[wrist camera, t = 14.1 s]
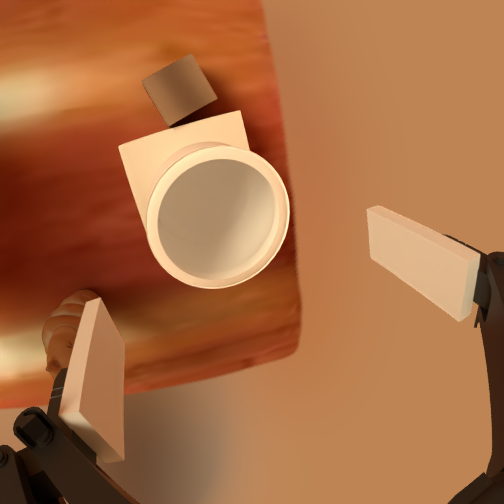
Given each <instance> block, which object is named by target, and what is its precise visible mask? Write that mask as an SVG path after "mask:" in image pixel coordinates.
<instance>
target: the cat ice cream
mask: <svg viewBox="0 0 504 504" xmlns="http://www.w3.org/2000/svg"><path fill="white" fill-rule="evenodd" d="M97 298H100V297H99V296H98V295H97V294H96V293H95V292H93V291H91V290H87V289H83V290H79V291H77V292H75V293H74V294H72V295H70V296H69V297H67V298H65V299H64V300H63V301H62V302H61V304H60V306H59V307H57V308H56V309H55V310H53V311H52V313H51V315H50V318H49V319H48V320H47V321H46V323H45V326H44V328H43V331H42V340H43V344H44V347H45V351H46V354H47V367H46V371H48V372H49V373H50V375H51V376H52V378H53V379H54V381H55V378H56V377H57V375H58V373H59V372H60V370H61V369H63V368H67V367H69V363H70V359H71V355H72V351H73V347H74V343H75V339H76V335H77V332H78V328H79V325H80V321H81V318H82V314H83V311H84V308H85V304H86V302H88V301H91V300H94V299H97Z"/></svg>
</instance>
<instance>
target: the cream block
mask: <svg viewBox="0 0 504 504" xmlns="http://www.w3.org/2000/svg"><path fill="white" fill-rule="evenodd" d="M199 142H220V143H225V144H228V145H231V146H236V147H240V148H244V149H246V150H249V151H250V149H249V145H248V141H247V136H246V132H245V128H244V124H243V120H242V115H241V111H240V110H239V111H234V112H229V113H225V114H221V115H217V116H213V117H209V118H205V119H202V120H198V121H194V122H191V123H187V124H184V125H180V126H177V127H174V128H170V129H167V130H164V131H161V132H157V133H154V134H151V135H148V136H145V137H142V138H139V139H136V140H133V141H130V142H127V143H125V144H122V145H120V146H118V148H119V151H120V154H121V158H122V161H123V164H124V167H125V171H126V174H127V177H128V180H129V183H130V186H131V189H132V192H133V195H134V198H135V201H136V204H137V207H138V210H139V213H140V216H141V219H142V222H143V225H144V227H145V230H146V226H145V216H146V208H147V201H148V194H149V189H150V186H151V183H152V180H153V178H154V176H155V174H156V172H157V170H158V169H159V168H160V166H161V165H162V164H163V162H164V161H165V160H166V159H167V158H168V157H170V156H171V155H172V154H173V153H175V152H176V151H178V150H179V149H181V148H183V147H185V146H188V145H191V144H194V143H199Z"/></svg>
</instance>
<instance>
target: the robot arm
mask: <svg viewBox="0 0 504 504" xmlns="http://www.w3.org/2000/svg"><path fill="white" fill-rule="evenodd" d="M367 219H368V231H369V247H370V258H371V259H373V260H374V261H376V262H377V263H378V264H380V265H381V266H383V267H384V268H386V269H387V270H389V271H390V272H391V273H393V274H394V275H396V276H397V277H399V278H400V279H401V280H403V281H404V282H406V283H407V284H408V285H410V286H411V287H413V288H414V289H415V290H417V291H418V292H419V293H421V294H423V295H424V296H425V297H427V298H428V299H429V300H430V301H432V302H433V303H435V304H436V305H437V306H438V307H440V308H441V309H443V310H444V311H445V312H447V313H448V314H449V315H451V316H452V317H453V318H454V319H456V320H457V321H458V322H460V321H461V320H463V319H464V318H466V317H467V316H468V315H470V314H471V309H472V305H473V301H474V302H475V303H477V304H478V305H479V306H478V311H477V316H476V320H475V325H474V327H475V328H476V327H477V324H478V322H480V328H481V333H482V339H483V345H484V350H485V358H486V364H487V373H488V381H489V390H490V403H491V419H492V455H491V459H490V462H489V465H488V468H487V472H486V474H485V473H482V474H481V475H480V476H479V477H477V478H476V479H475V480H474V481H473V482H472V483H470V484H469V485H468V486H467V487H465V488H464V489H463V490H462V491H460V492H459V493H458V494H456V495H455V496H454V497H453V498H452V499H451V500H450V502H449V503H448V504H504V252H492V253H490V254H489V255H486V254H484V253H482V252H481V251H479V250H477V249H475V248H473V247H471V246H469V245H467V244H466V245H465V243H463V242H461V241H458V240H457V239H455V238H453V237H451V236H448V235H444V234H440V233H438V232H436V231H434V230H432V229H430V228H427V227H426V226H423V225H421V224H419V223H417V222H415V221H413V220H411V219H408V218H406V217H404V216H402V215H399V214H397V213H395V212H393V211H391V210H388V209H386V208H384V207H382V206H379V205H378V206H375V207H371V208H368V209H367ZM124 363H125V343H124V341H123V339H122V337H121V335H120V334H119V332H118V330H117V328H116V326H115V324H114V322H113V321H112V319H111V317H110V315H109V313H108V311H107V309H106V307H105V305H104V303H103V301H102V299H101V297H100V298H97V299H94V300H91V301H88V302H86V304H85V308H84V311H83V314H82V318H81V321H80V325H79V328H78V332H77V335H76V339H75V343H74V347H73V351H72V355H71V359H70V363H69V367H67V368H63V369H61V370H60V372H59V373H58V375H57V377H56V378H55V381H54V385H53V391H52V393H51V399H50V402H49V406H48V411H47V415H46V414H45V412H43V410H42V409H40V408H39V407H30V408H27V409H26V410H24V411H23V412H21V414H20V415H19V416H18V417H17V419H16V420H15V423H14V427H13V431H14V435H15V436H16V437H17V438H18V439H19V440H20V441H22V442H23V443H24V444H25V445H26V446H27V447H26V448H24V449H22V450H20V451H18V452H15V451H14V450H13V449H12V448H11V447H9V446H8V445H1V446H0V504H66V502H65V500H64V498H65V499H66V501H67V502H68V503H69V504H140V503H138V502H137V501H136V500H135V499H134V498H133V497H131V496H130V495H129V494H128V493H127V492H126V491H124V490H123V489H122V488H121V487H120V486H119V485H118V484H117V483H116V482H115V481H114V480H112V479H111V478H110V477H109V476H108V475H107V474H106V473H105V472H104V471H103V470H102V469H101V468H100V467H99V466H98V465H97V464H96V455H97V456H98V457H99V458H101V459H102V460H103V461H104V462H105V463H109V462H115V461H121V460H124V433H123V397H124ZM63 497H64V498H63Z"/></svg>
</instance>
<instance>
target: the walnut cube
mask: <svg viewBox="0 0 504 504" xmlns="http://www.w3.org/2000/svg"><path fill="white" fill-rule="evenodd" d="M142 83H143V86H144V88H145V90H146V92H147V93H148V95H149V97H150V98H151V100H152V102H153V103H154V105H155V107H156V108H157V110H158V112H159V113H160V115H161V117H162V118H163V120H164V122H165V123H166V125H167V127H169V126H170V125H172V124H174V123H175V122H177V121H179V120H180V119H182V118H184V117H186V116H187V115H189V114H191V113H193V112H194V111H196V110H198V109H200V108H201V107H203V106H205V105H207V104H209V103H210V102H212V101H214V100H216V99H218V98H217V96H216V94H215V93H214V91H213V89H212V88H211V86H210V84H209V82H208V81H207V79H206V77H205V75H204V74H203V72H202V70H201V69H200V67H199V65H198V64H197V62H196V60H195V59H194V57H193V55H192V53H191V54H189V55H187V56H185V57H183V58H181V59H180V60H178V61H176V62H174V63H172V64H170V65H168V66H167V67H165V68H163V69H161V70H159V71H158V72H156V73H154V74H152V75H151V76H149V77H147V78H146V79H144V80H142Z"/></svg>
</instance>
